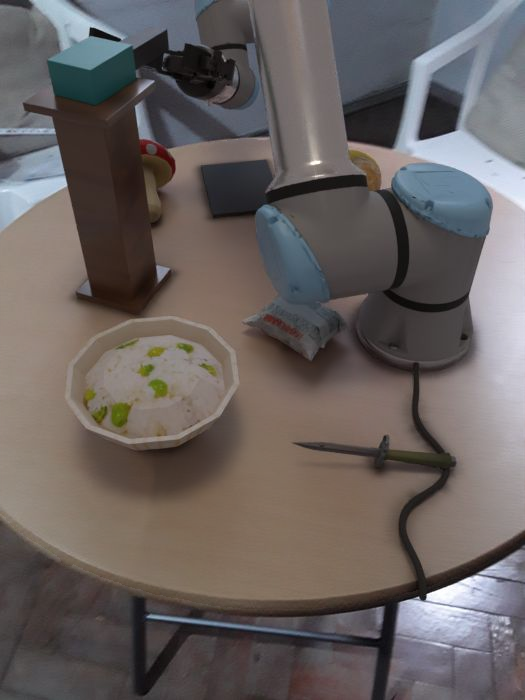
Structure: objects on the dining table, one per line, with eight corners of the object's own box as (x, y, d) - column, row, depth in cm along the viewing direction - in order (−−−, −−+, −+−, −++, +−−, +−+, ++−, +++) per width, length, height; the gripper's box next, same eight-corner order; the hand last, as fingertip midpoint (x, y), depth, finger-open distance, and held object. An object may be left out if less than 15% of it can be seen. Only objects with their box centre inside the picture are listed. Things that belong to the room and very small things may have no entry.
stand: (139, 318, 94) (106, 120, 74) (71, 298, 97) (22, 102, 76) (176, 272, 101) (155, 80, 81) (112, 255, 104) (76, 65, 84)
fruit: (300, 210, 113) (303, 156, 106) (343, 187, 118) (349, 133, 111) (346, 237, 108) (352, 181, 101) (389, 211, 113) (398, 156, 106)
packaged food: (310, 373, 87) (312, 346, 83) (241, 332, 92) (240, 304, 89) (349, 338, 92) (353, 311, 88) (281, 301, 97) (283, 273, 94)
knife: (287, 461, 76) (295, 433, 72) (288, 446, 77) (295, 418, 73) (451, 480, 77) (466, 454, 73) (448, 465, 78) (463, 439, 75)
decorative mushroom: (155, 189, 102) (145, 113, 108) (98, 220, 106) (92, 145, 112) (197, 221, 111) (186, 150, 117) (144, 249, 115) (135, 178, 121)
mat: (284, 210, 113) (284, 207, 113) (213, 217, 112) (213, 214, 111) (266, 162, 124) (266, 159, 124) (201, 168, 123) (200, 165, 122)
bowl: (54, 483, 75) (33, 426, 68) (106, 359, 88) (93, 301, 81) (226, 504, 73) (223, 448, 66) (253, 374, 87) (252, 316, 80)
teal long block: (96, 105, 76) (90, 70, 73) (53, 95, 78) (46, 59, 75) (179, 51, 87) (176, 18, 84) (140, 42, 89) (136, 10, 86)
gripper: (276, 114, 102) (222, 95, 83) (131, 86, 109) (50, 62, 90) (286, 61, 100) (233, 29, 81) (138, 36, 107) (56, 1, 87)
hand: (137, 46), depth 85 cm, fingers open, 13 cm apart
